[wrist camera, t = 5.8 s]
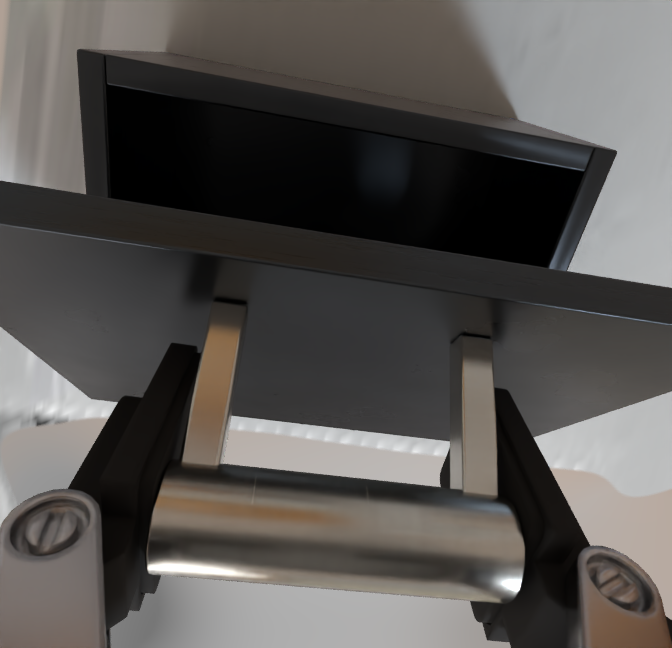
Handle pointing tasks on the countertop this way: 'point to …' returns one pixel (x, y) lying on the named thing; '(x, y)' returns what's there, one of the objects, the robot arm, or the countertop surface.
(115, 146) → the bin
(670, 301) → the bin lid
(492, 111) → the countertop surface
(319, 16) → the countertop surface
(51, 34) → the countertop surface
